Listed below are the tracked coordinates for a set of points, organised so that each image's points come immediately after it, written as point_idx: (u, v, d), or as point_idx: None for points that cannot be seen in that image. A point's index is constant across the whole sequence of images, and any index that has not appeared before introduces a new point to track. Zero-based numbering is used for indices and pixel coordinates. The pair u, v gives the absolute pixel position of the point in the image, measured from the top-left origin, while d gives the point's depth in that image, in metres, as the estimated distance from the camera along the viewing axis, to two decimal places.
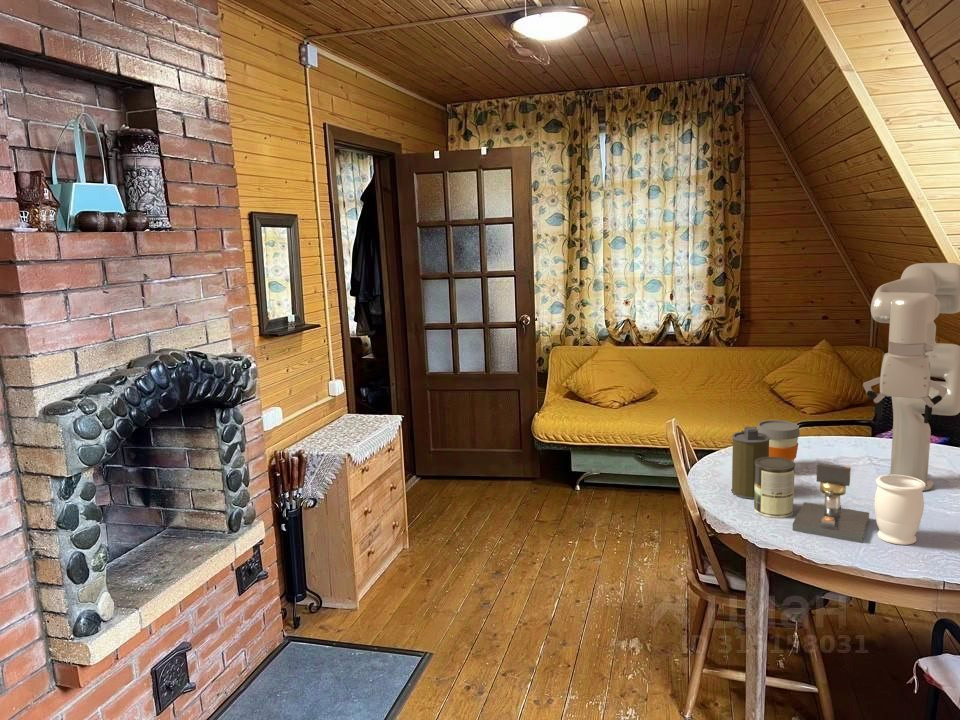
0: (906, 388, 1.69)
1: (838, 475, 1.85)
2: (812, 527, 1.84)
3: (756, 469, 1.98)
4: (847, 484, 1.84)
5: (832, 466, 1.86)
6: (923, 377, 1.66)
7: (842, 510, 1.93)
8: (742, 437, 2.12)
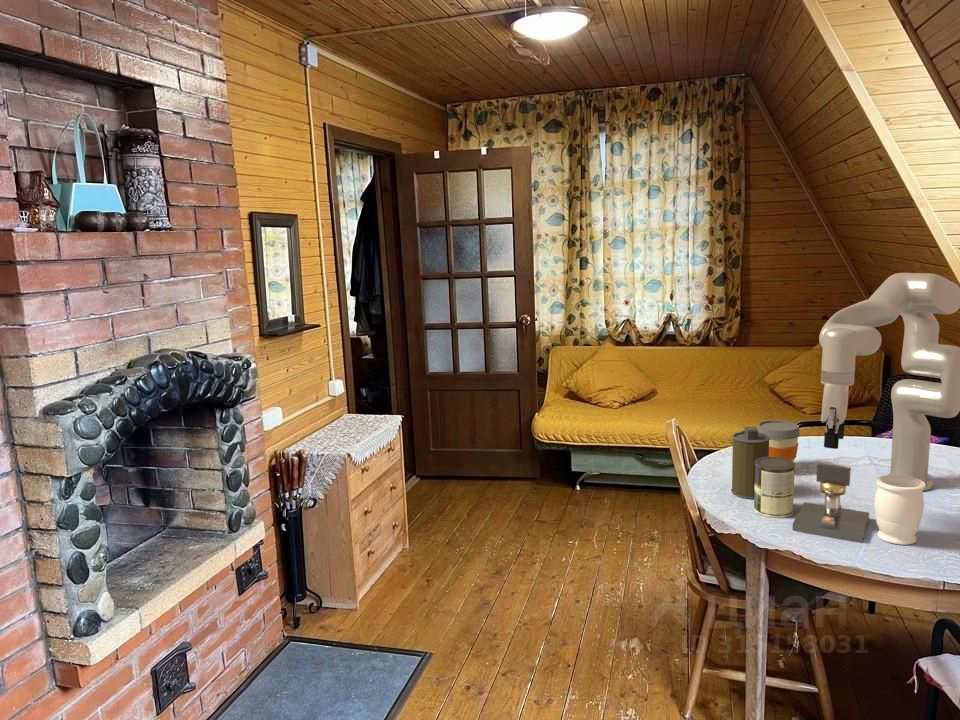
0: (845, 412, 1.83)
1: (838, 475, 1.85)
2: (812, 527, 1.84)
3: (756, 469, 1.98)
4: (847, 484, 1.84)
5: (832, 466, 1.86)
6: None
7: (842, 510, 1.93)
8: (742, 437, 2.12)
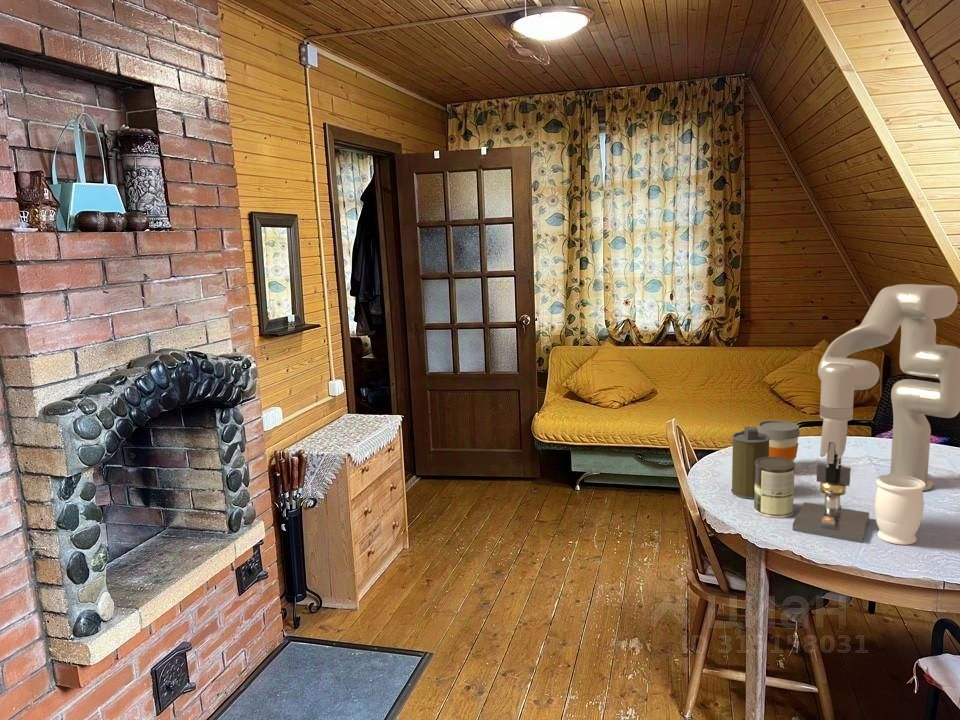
0: (844, 446, 1.85)
1: None
2: (812, 527, 1.84)
3: (756, 469, 1.98)
4: (847, 484, 1.84)
5: None
6: None
7: (842, 510, 1.93)
8: (742, 437, 2.12)
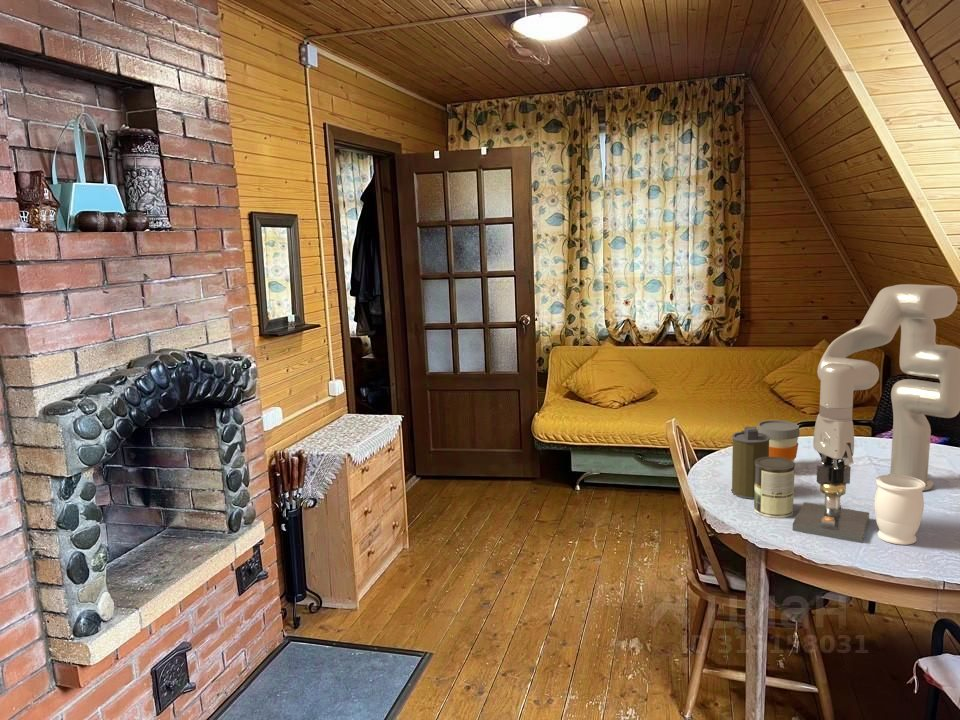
0: None
1: None
2: (812, 527, 1.84)
3: (756, 469, 1.98)
4: (848, 482, 1.86)
5: (833, 466, 1.86)
6: None
7: (842, 510, 1.93)
8: (742, 437, 2.12)
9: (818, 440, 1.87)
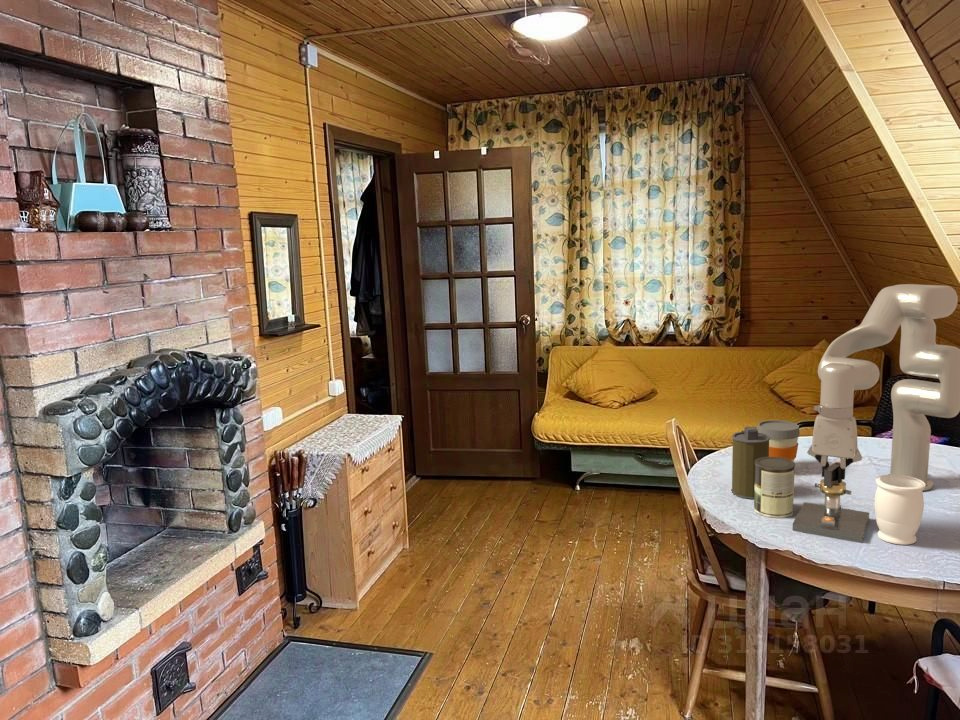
0: None
1: None
2: (812, 527, 1.84)
3: (756, 469, 1.98)
4: None
5: (835, 466, 1.86)
6: None
7: (842, 510, 1.93)
8: (742, 437, 2.12)
9: (822, 443, 1.84)
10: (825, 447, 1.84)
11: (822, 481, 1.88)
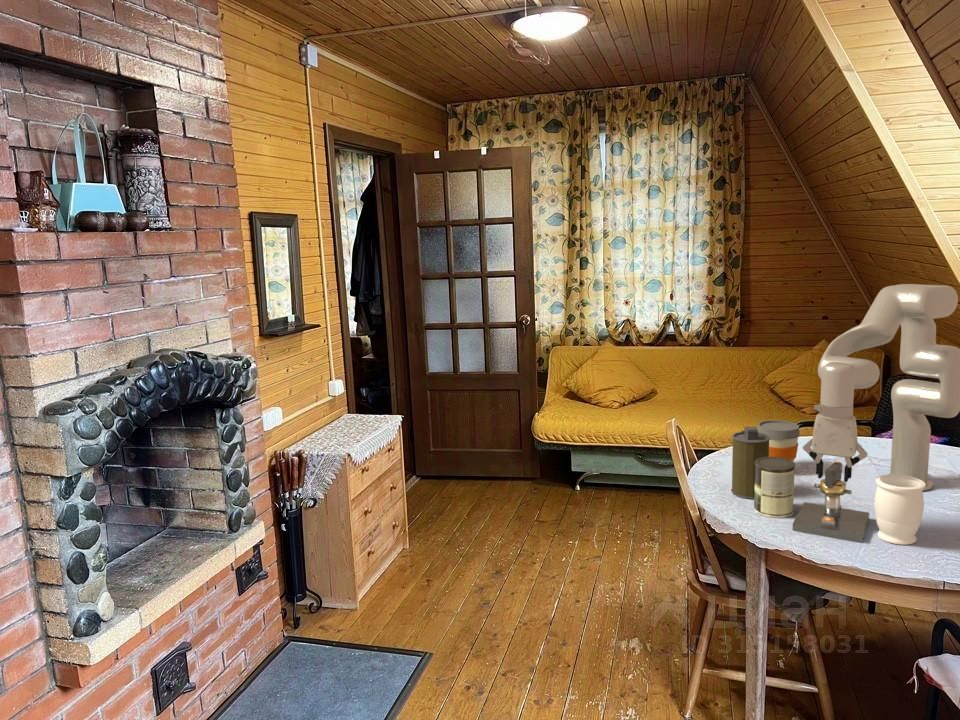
0: None
1: (838, 473, 1.87)
2: (812, 527, 1.84)
3: (756, 469, 1.98)
4: (840, 478, 1.89)
5: (835, 466, 1.86)
6: None
7: (842, 510, 1.93)
8: (742, 437, 2.12)
9: (822, 442, 1.84)
10: (825, 446, 1.84)
11: (822, 481, 1.88)
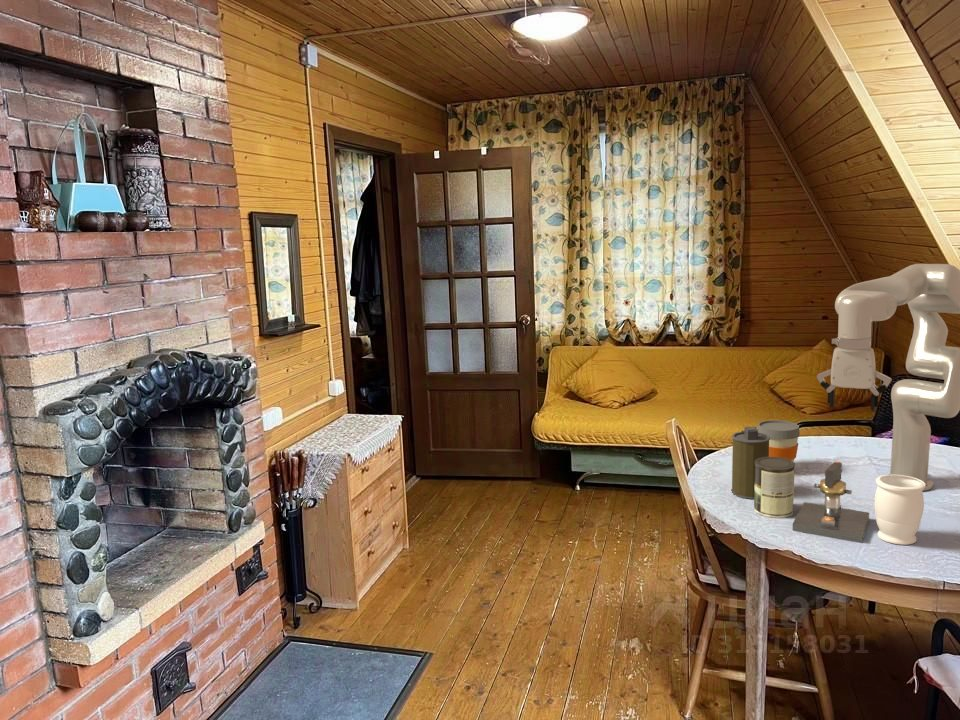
0: None
1: (838, 472, 1.87)
2: (812, 527, 1.84)
3: (756, 469, 1.98)
4: (840, 478, 1.89)
5: (835, 466, 1.86)
6: None
7: (842, 510, 1.93)
8: (742, 437, 2.12)
9: (841, 375, 1.86)
10: (844, 379, 1.86)
11: (822, 481, 1.88)
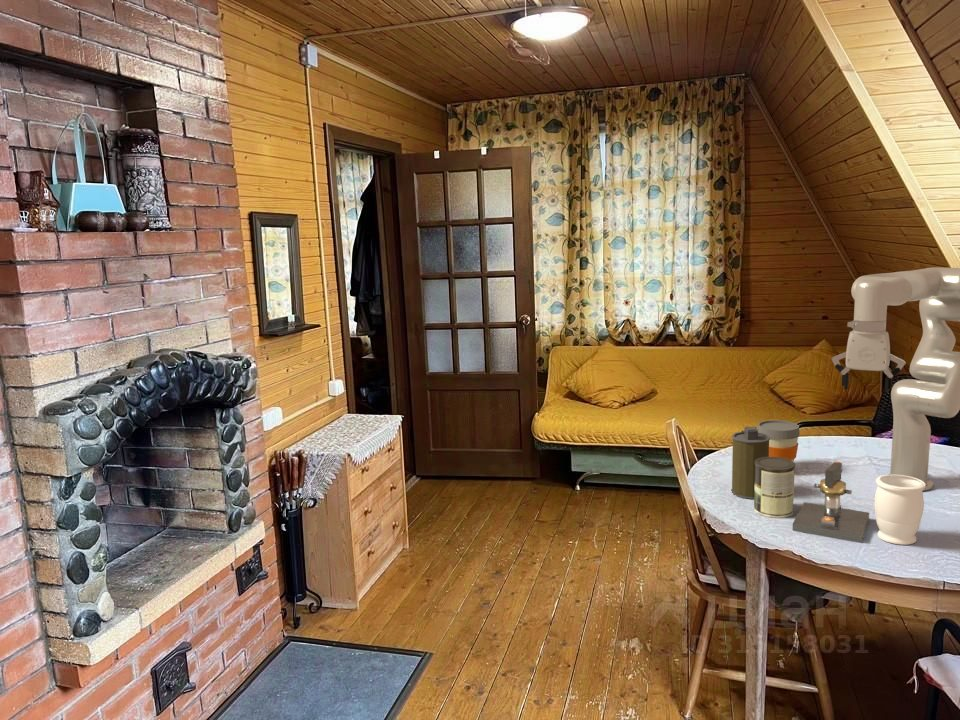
0: None
1: (838, 472, 1.87)
2: (812, 527, 1.84)
3: (756, 469, 1.98)
4: (840, 478, 1.89)
5: (835, 466, 1.86)
6: None
7: (842, 510, 1.93)
8: (742, 437, 2.12)
9: (856, 357, 1.91)
10: (859, 361, 1.91)
11: (822, 481, 1.88)
